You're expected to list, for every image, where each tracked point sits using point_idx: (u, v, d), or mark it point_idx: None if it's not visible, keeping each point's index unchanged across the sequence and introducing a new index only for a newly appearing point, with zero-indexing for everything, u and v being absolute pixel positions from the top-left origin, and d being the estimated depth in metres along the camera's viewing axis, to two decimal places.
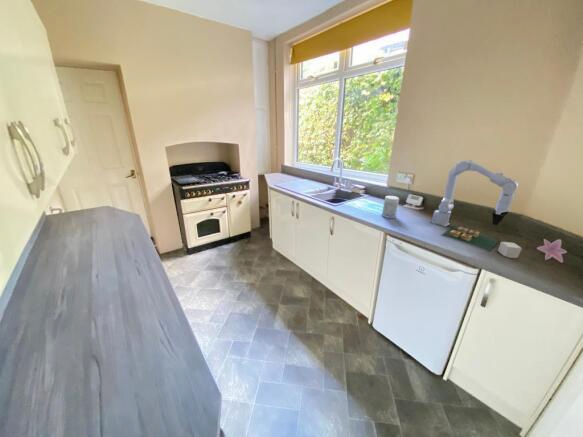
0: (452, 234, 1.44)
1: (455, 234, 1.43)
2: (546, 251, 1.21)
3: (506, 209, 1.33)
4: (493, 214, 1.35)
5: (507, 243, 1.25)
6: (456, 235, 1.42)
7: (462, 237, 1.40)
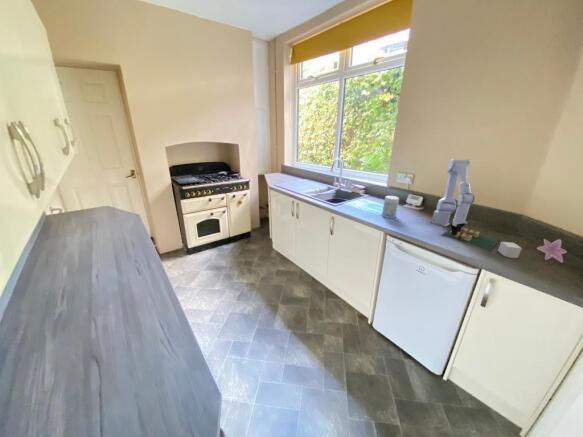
0: None
1: None
2: (546, 251, 1.21)
3: (462, 221, 1.39)
4: (451, 225, 1.41)
5: (507, 243, 1.25)
6: (456, 235, 1.42)
7: (462, 237, 1.40)
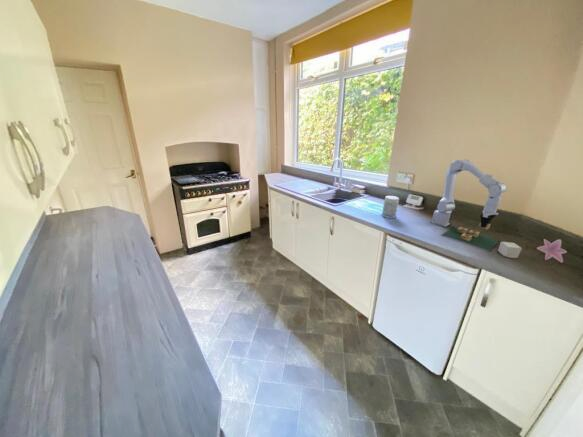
0: None
1: None
2: (546, 251, 1.21)
3: (493, 212, 1.33)
4: (481, 216, 1.36)
5: (507, 243, 1.25)
6: (486, 227, 1.37)
7: (462, 237, 1.40)
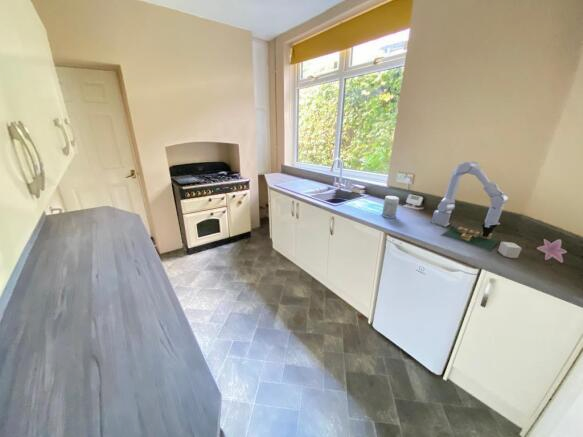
0: (483, 236, 1.40)
1: None
2: (546, 251, 1.21)
3: (495, 222, 1.35)
4: (483, 226, 1.37)
5: (507, 243, 1.25)
6: (488, 237, 1.38)
7: (462, 237, 1.40)
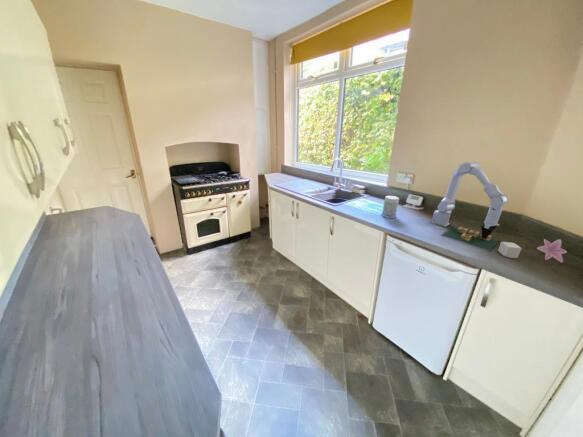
0: None
1: None
2: (546, 251, 1.21)
3: (495, 223, 1.35)
4: (482, 228, 1.37)
5: (507, 243, 1.25)
6: (487, 238, 1.39)
7: (462, 237, 1.40)
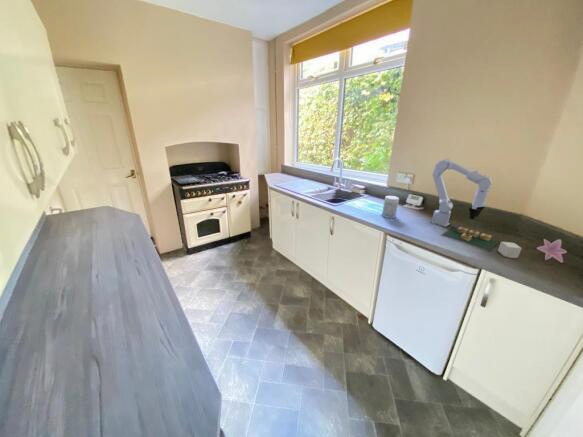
0: (483, 237, 1.40)
1: (486, 237, 1.39)
2: (546, 251, 1.21)
3: (481, 204, 1.43)
4: (470, 209, 1.45)
5: (507, 243, 1.25)
6: (487, 238, 1.39)
7: (462, 237, 1.40)
